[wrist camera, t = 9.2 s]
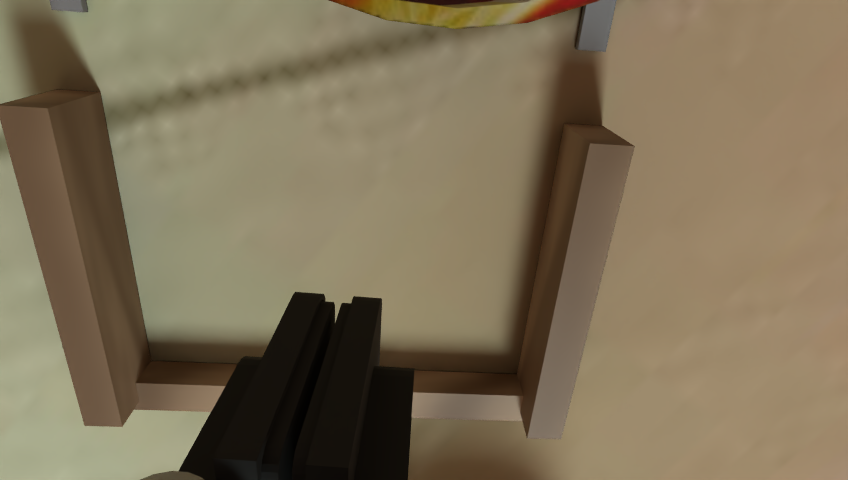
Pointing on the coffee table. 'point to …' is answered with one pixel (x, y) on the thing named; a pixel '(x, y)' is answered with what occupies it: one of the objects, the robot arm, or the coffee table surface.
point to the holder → (204, 382)
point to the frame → (589, 38)
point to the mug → (463, 11)
